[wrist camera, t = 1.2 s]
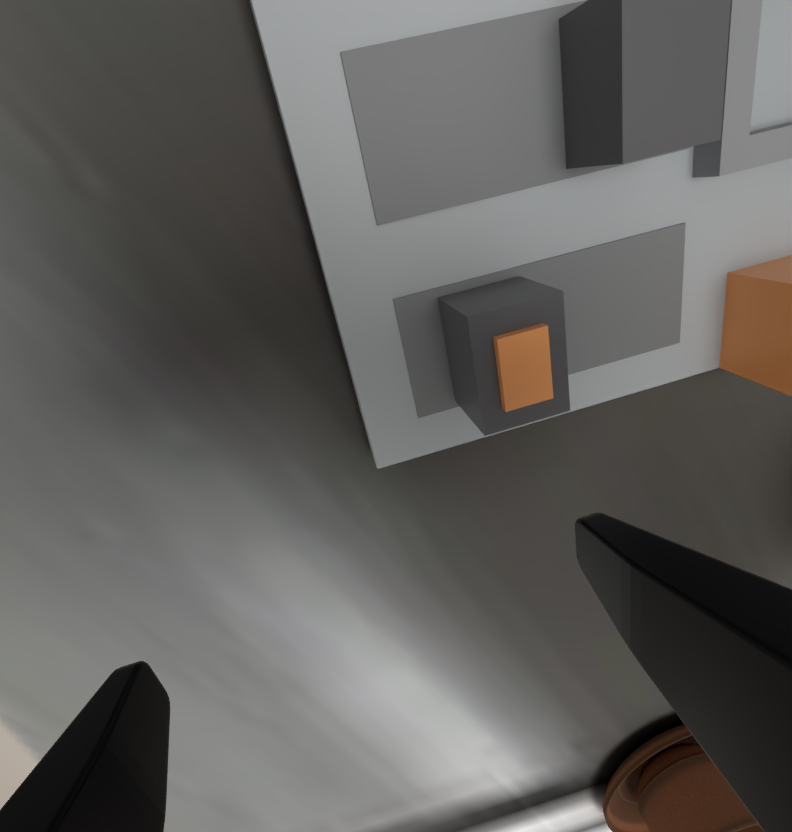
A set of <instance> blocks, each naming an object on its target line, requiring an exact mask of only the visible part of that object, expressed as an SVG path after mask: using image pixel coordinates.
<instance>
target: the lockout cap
mask: <svg viewBox="0 0 792 832" xmlns="http://www.w3.org/2000/svg"><path fill="white" fill-rule="evenodd" d="M719 368H721V369H724V370H726V371H729V372H731V373H734V374H736V375H739V376H741V377H744V378H746V379H749V380H751V381H754V382H757V383H759V384H762V385H764V386H767V387H769V388H772V389H774V390H777V391H779V392H782V393H784V394H787V395H789V396H792V255H790V256H786V257H782V258H779V259H775V260H771V261H768V262H764V263H761V264H757V265H753V266H750V267H746V268H743V269H739V270H735V271H732V272H728V273H727V283H726V294H725V306H724V317H723V329H722V340H721V351H720V363H719Z"/></svg>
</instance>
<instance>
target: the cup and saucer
mask: <svg viewBox="0 0 792 832" xmlns="http://www.w3.org/2000/svg"><path fill="white" fill-rule="evenodd" d="M603 812H604V816H605V819H606V822H607V824H608V827H609V828H610V829H611V830H612V831H613V832H764V831H763V829H762V828H761V827H760V825H759V824H758V823H757V821H756V820H755V819H754V817H753V816H752V815H751V813H750V812H749V810H748V809H747V808H746V806H745V805H744V804H743V802H742V801H741V800H740V798H739V797H738V796H737V794H736V793H735V792H734V790H733V789H732V788H731V786H730V785H729V784H728V782H727V781H726V779H725V778H724V777H723V775H722V774H721V773H720V771H719V770H718V769H717V767H716V766H715V765H714V763H713V762H712V761H711V759H710V758H709V757H708V755H707V754H706V753H705V751H704V750H703V748H702V747H701V746H700V744H699V743H698V742H697V740H696V739H695V738H694V736H693V735H692V734H691V732H690V731H689V730H688V728H687V727H686V726H685V724H683V725H680V726H677V727H674V728H672V729H669V730H667V731H665V732H663V733H661V734H659V735H657V736H655V737H654V738H652V739H650V740H649V741H647V742H646V743H644V744H643V745H641V746H640V747H639V748H637V749H636V750H635V751H634V752H633V753H632V754H630V755H629V756H628V757H627V758H626V759H625V760H624V761H623V763H622V764H621V765H620V766H619V767H618V769H617V770H616V771H615V773H614V774H613V776H612V778H611V780H610V782H609V784H608V786H607V789H606V793H605V798H604V803H603Z"/></svg>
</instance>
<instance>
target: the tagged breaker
mask: <svg viewBox="0 0 792 832" xmlns="http://www.w3.org/2000/svg"><path fill="white" fill-rule="evenodd" d="M438 302H439V308H440V314H441V320H442V325H443V331H444V337H445V343H446V349H447V354H448V360H449V366H450V372H451V378H452V383H453V389H454V395H455V401H456V403H457V404H458V405H459V406H460V407H461V408H462V410H463V411H464V412H465V413H466V414H467V416H468V417H469V418H470V419H471V420H472V422H473V423H474V424H475V425H476V426H477V427H478V429H479V430H480V431H481V432H482V433H483V435H484V436H487V435H490V434H493V433H497V432H500V431H504V430H507V429H510V428H514V427H517V426H520V425H524V424H527V423H530V422H534V421H537V420H541V419H544V418H547V417H551V416H554V415H557V414H561V413H564V412H568V411H570V397H569V380H568V363H567V346H566V329H565V312H564V295H563V291H562V290H559V289H556V288H553V287H550V286H547V285H544V284H541V283H538V282H535V281H533V280H530V279H527V278H524V277H521V276H518V277H514V278H510V279H506V280H503V281H499V282H495V283H491V284H488V285H484V286H480V287H476V288H472V289H469V290H465V291H461V292H457V293H454V294H450V295H446V296H442V297H438Z"/></svg>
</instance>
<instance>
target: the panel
mask: <svg viewBox="0 0 792 832" xmlns="http://www.w3.org/2000/svg"><path fill="white" fill-rule="evenodd" d="M249 1H250V5H251V8H252V12H253V16H254V19H255V23H256V27H257V31H258V34H259V38H260V42H261V45H262V49H263V53H264V56H265V60H266V64H267V68H268V71H269V75H270V79H271V82H272V86H273V90H274V93H275V97H276V101H277V104H278V108H279V112H280V116H281V119H282V123H283V127H284V130H285V134H286V138H287V141H288V145H289V149H290V153H291V156H292V160H293V164H294V167H295V171H296V175H297V178H298V182H299V186H300V189H301V193H302V197H303V201H304V204H305V208H306V212H307V215H308V219H309V223H310V226H311V230H312V234H313V238H314V241H315V245H316V249H317V252H318V256H319V260H320V263H321V267H322V271H323V275H324V278H325V282H326V286H327V289H328V293H329V297H330V300H331V304H332V308H333V311H334V315H335V319H336V323H337V326H338V330H339V334H340V337H341V341H342V345H343V348H344V352H345V356H346V360H347V363H348V367H349V371H350V374H351V378H352V382H353V385H354V389H355V393H356V397H357V400H358V404H359V408H360V411H361V415H362V419H363V422H364V426H365V430H366V433H367V437H368V441H369V445H370V448H371V452H372V455H373V458H374V460H375V463H376V466H377V469H380V468H383V467H386V466H390V465H393V464H396V463H400V462H403V461H407V460H410V459H413V458H417V457H420V456H423V455H427V454H430V453H433V452H437V451H440V450H444V449H447V448H450V447H454V446H457V445H460V444H464V443H467V442H471V441H474V440H477V439H481V438H484V437H487V436H491V435H494V434H497V433H501V432H504V431H508V430H511V429H514V428H518V427H521V426H524V425H528V424H531V423H535V422H538V421H541V420H545V419H548V418H551V417H555V416H558V415H561V414H565V413H568V412H572V411H575V410H578V409H582V408H585V407H588V406H592V405H595V404H599V403H602V402H605V401H609V400H612V399H615V398H619V397H622V396H625V395H629V394H632V393H636V392H639V391H642V390H646V389H649V388H652V387H656V386H659V385H663V384H666V383H669V382H673V381H676V380H679V379H683V378H686V377H689V376H693V375H696V374H700V373H703V372H706V371H710V370H713V369H716V368H719V363H720V351H721V340H722V329H723V317H724V306H725V294H726V283H727V273H728V272H732V271H735V270H739V269H743V268H746V267H750V266H753V265H757V264H761V263H764V262H768V261H771V260H775V259H779V258H782V257H786V256H790V255H792V0H249ZM518 276H521V277H524V278H527V279H530V280H533V281H535V282H538V283H541V284H544V285H547V286H550V287H553V288H556V289H559V290H562V291H563V295H564V312H565V329H566V346H567V363H568V380H569V397H570V411H568V412H564V413H561V414H557V415H554V416H551V417H547V418H544V419H541V420H537V421H534V422H530V423H527V424H524V425H520V426H517V427H514V428H510V429H507V430H504V431H500V432H497V433H493V434H490V435H487V436H484V435H483V433H482V432H481V431H480V430H479V429H478V427H477V426H476V425H475V424H474V423H473V422H472V420H471V419H470V418H469V417H468V416H467V414H466V413H465V412H464V411H463V410H462V408H461V407H460V406H459V405H458V404H457V403H456V401H455V395H454V389H453V383H452V378H451V372H450V366H449V360H448V354H447V349H446V343H445V337H444V331H443V325H442V320H441V314H440V308H439V302H438V297H442V296H446V295H450V294H454V293H457V292H461V291H465V290H469V289H472V288H476V287H480V286H484V285H488V284H491V283H495V282H499V281H503V280H506V279H510V278H514V277H518Z"/></svg>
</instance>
